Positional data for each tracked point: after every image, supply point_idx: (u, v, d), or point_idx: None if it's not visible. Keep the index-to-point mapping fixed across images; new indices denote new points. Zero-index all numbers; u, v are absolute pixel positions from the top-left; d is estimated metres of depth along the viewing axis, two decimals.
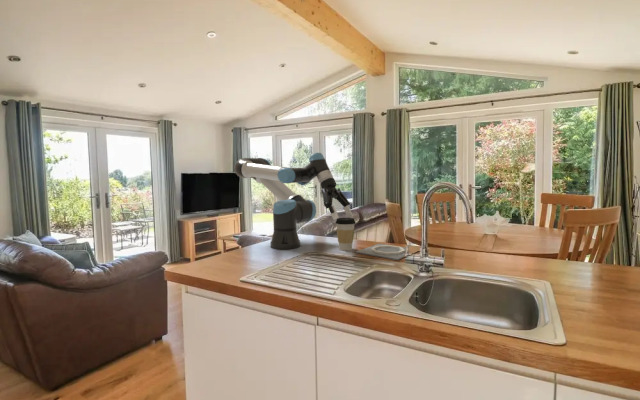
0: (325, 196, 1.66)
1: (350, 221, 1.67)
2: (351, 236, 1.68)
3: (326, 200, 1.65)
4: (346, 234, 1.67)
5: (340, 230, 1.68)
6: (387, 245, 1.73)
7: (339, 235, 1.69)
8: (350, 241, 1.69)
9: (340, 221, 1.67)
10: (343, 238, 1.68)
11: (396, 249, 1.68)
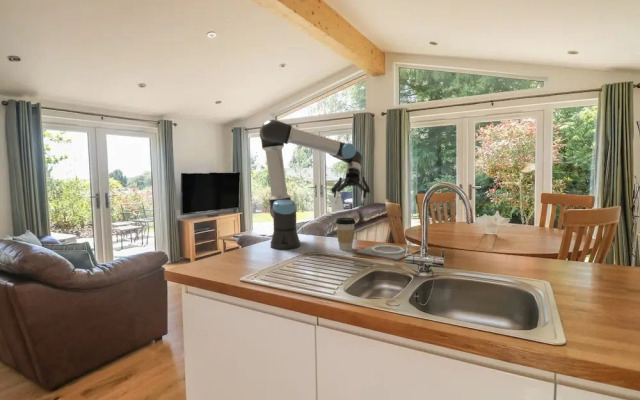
0: (366, 185, 1.85)
1: (350, 221, 1.67)
2: (351, 236, 1.68)
3: None
4: (346, 234, 1.67)
5: (340, 230, 1.68)
6: (387, 245, 1.73)
7: (339, 235, 1.69)
8: (350, 241, 1.69)
9: (340, 221, 1.67)
10: (343, 238, 1.68)
11: (396, 249, 1.68)
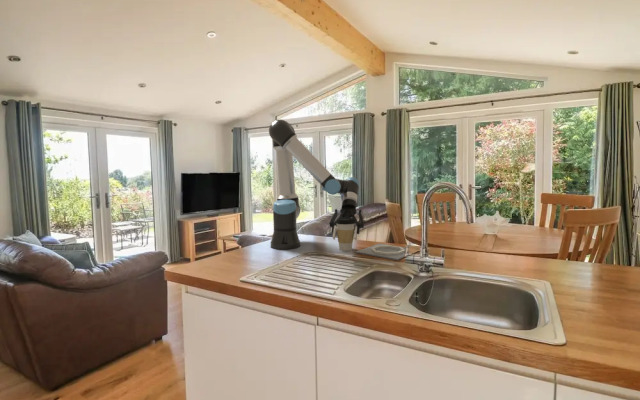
0: None
1: (350, 221, 1.67)
2: (351, 236, 1.68)
3: None
4: (346, 234, 1.67)
5: (340, 230, 1.68)
6: (387, 245, 1.73)
7: (339, 235, 1.69)
8: (350, 241, 1.69)
9: (340, 221, 1.67)
10: (343, 238, 1.68)
11: (396, 249, 1.68)
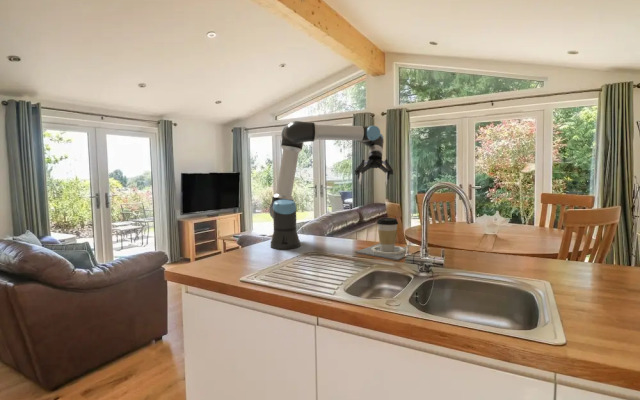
0: None
1: (393, 221, 1.61)
2: (394, 237, 1.62)
3: None
4: (389, 235, 1.61)
5: (382, 231, 1.62)
6: None
7: (381, 236, 1.63)
8: (393, 242, 1.62)
9: (383, 221, 1.61)
10: (386, 239, 1.62)
11: (396, 249, 1.68)
